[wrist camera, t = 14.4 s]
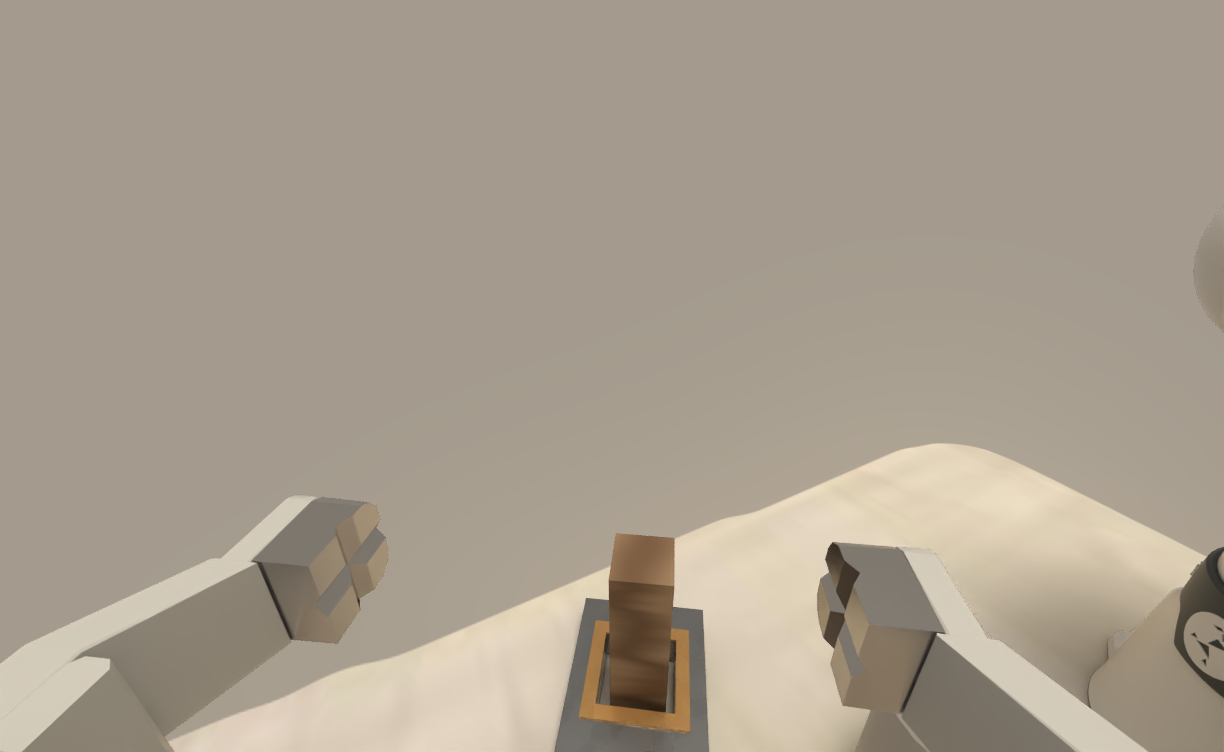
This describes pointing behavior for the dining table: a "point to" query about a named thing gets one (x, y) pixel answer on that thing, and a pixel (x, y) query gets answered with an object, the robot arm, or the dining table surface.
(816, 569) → the dining table surface
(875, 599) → the robot arm
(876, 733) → the can
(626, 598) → the walnut peg
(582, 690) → the metal plate
